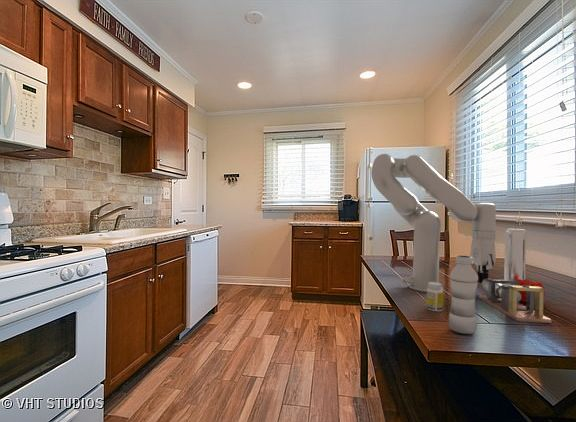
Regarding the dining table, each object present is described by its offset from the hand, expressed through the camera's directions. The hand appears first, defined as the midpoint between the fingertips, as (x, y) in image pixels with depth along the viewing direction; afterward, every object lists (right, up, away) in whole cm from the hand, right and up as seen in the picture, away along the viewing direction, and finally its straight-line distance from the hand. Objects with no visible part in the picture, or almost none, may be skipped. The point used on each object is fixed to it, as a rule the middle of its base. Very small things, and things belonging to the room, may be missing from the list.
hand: (482, 282), depth 118 cm
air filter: (+13, -5, +1) cm, 14 cm away
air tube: (-2, -2, -12) cm, 12 cm away
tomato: (+10, -5, -10) cm, 15 cm away
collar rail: (-3, -4, -18) cm, 19 cm away
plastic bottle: (-29, -5, -37) cm, 48 cm away
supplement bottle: (-28, -4, -19) cm, 34 cm away
